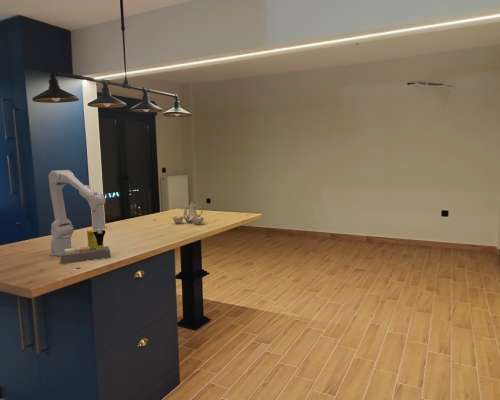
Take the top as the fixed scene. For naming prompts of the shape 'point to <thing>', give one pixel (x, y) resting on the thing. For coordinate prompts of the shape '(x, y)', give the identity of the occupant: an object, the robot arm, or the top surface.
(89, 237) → the supplement box
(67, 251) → the cream button
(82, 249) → the terracotta button
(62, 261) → the console
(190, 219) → the chinaware
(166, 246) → the top surface
